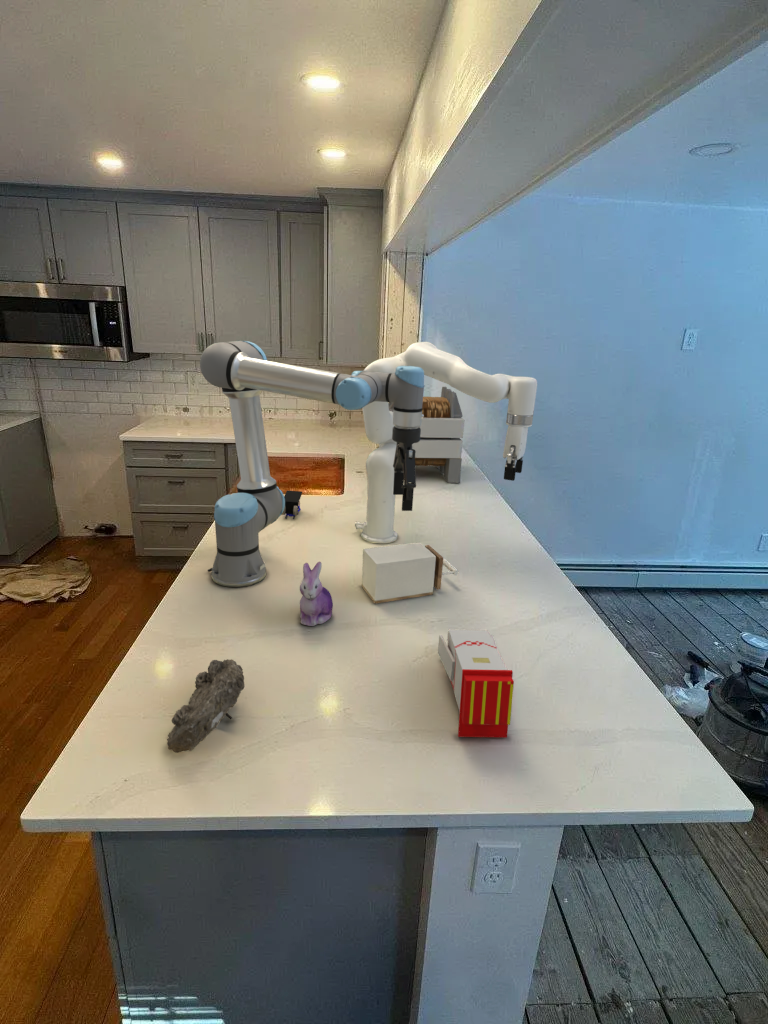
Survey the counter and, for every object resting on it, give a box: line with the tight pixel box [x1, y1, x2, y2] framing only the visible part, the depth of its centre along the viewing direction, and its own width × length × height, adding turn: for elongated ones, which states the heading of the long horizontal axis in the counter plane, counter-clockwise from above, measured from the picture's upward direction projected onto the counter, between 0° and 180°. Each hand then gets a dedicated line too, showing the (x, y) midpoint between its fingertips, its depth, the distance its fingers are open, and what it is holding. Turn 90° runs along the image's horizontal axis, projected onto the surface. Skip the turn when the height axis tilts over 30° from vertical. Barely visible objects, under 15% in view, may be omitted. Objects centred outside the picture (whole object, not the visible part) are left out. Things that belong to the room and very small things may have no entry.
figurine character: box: [281, 490, 303, 520], centre depth 212 cm, size 7×8×15 cm
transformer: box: [388, 386, 465, 484], centre depth 268 cm, size 34×33×41 cm
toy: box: [437, 628, 515, 738], centre depth 117 cm, size 12×13×30 cm
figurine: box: [299, 561, 334, 627], centre depth 141 cm, size 9×10×15 cm
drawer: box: [424, 544, 460, 591], centre depth 160 cm, size 22×9×10 cm, turn 112°
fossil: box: [166, 658, 245, 754], centre depth 106 cm, size 22×10×15 cm
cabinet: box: [361, 541, 436, 604], centre depth 158 cm, size 17×10×12 cm, turn 112°
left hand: (402, 502), depth 158 cm, fingers open, 13 cm apart
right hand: (512, 475), depth 172 cm, fingers open, 9 cm apart
